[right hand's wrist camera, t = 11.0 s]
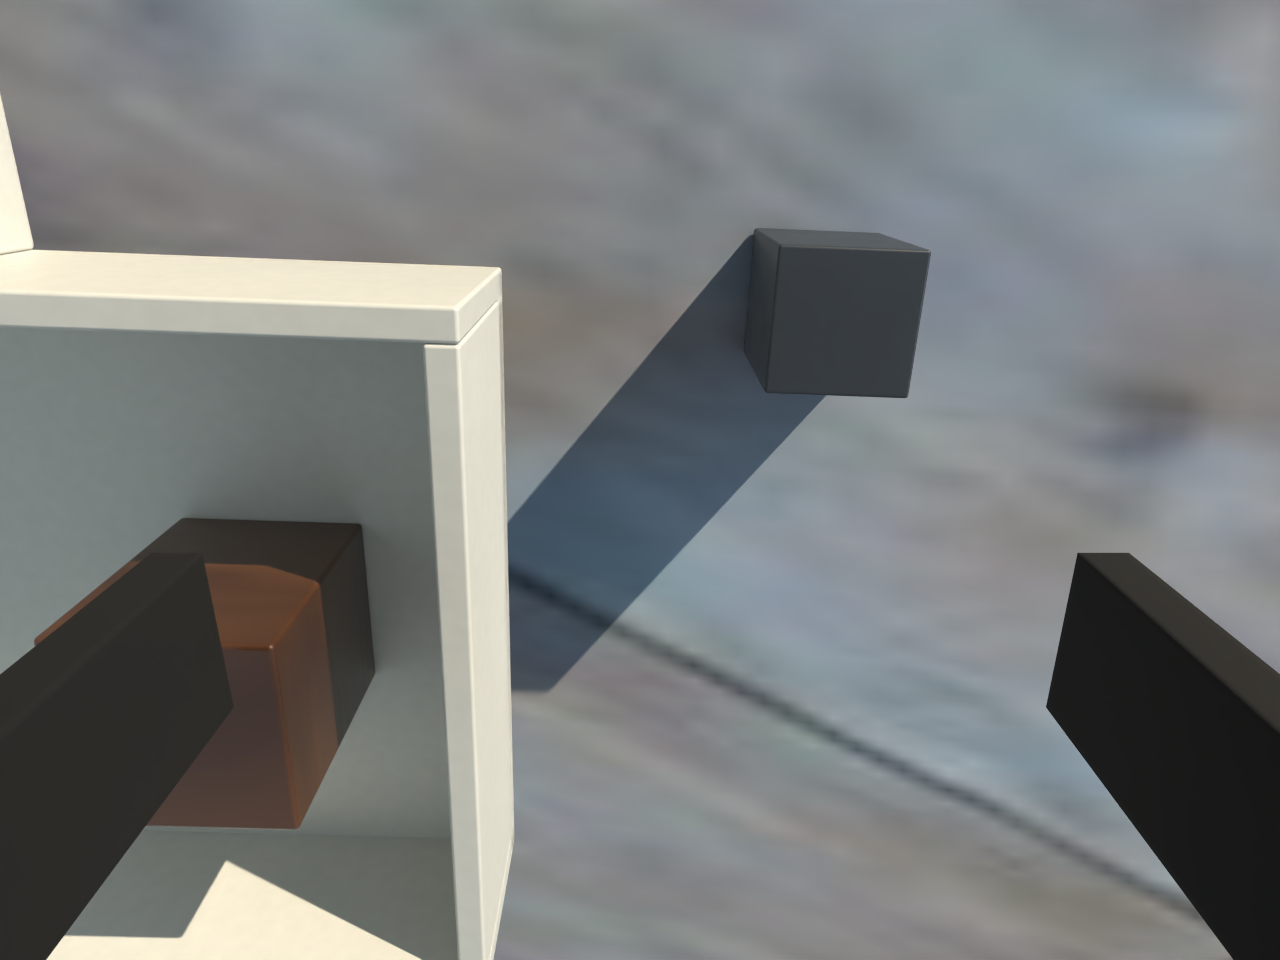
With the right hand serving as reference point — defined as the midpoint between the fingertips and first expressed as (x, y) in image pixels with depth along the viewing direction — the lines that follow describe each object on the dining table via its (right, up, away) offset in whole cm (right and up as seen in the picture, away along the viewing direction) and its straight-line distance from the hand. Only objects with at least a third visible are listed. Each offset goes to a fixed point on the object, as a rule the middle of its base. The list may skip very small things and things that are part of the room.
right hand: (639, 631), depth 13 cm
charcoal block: (+6, +8, +14) cm, 17 cm away
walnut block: (-8, 0, +7) cm, 10 cm away
